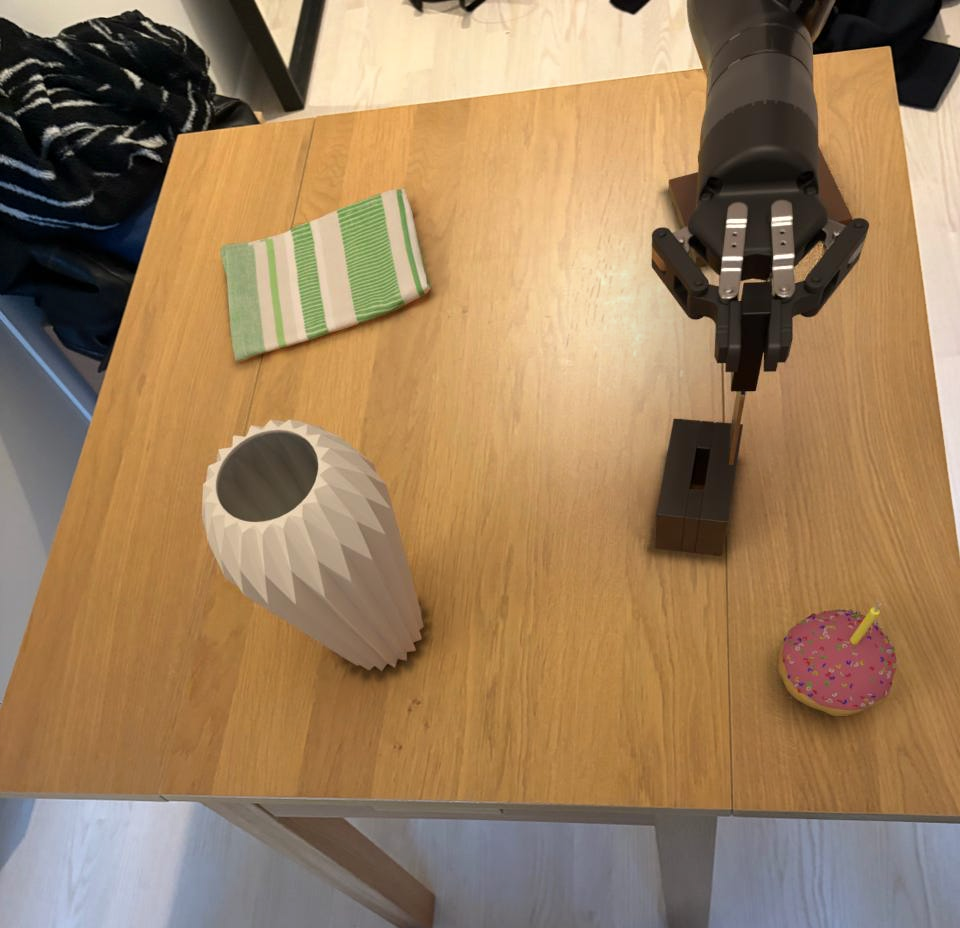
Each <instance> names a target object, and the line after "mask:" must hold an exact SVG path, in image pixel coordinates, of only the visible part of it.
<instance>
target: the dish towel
mask: <svg viewBox="0 0 960 928" xmlns="http://www.w3.org/2000/svg"><path fill="white" fill-rule="evenodd" d="M220 257H221V261H222V265H223V269H224V273H225V277H226V283H227V284H226V285H227V287H226V288H227V300H228V312H229V315H228V317H229V328H230V329H229V332H230V340H231V347H232V353H233V356H234V359H235V361H236V362H241V361H245V360H248V359H251V358H254V357H257V356H259V355H262V354H266V353H269V352H273V351H275V350H279V349H284V348H287V347H290V346H293V345H298V344H301V343H304V342H308V341H311V340H315V339H317V338H320V337H323V336H326V335H328V334H331V333H334V332H339V331H342V330H345V329H348V328H351V327H354V326H356V325H360V324H362V323H366V322H369V321H372V320H374V319H376V318H379V317H382V316H384V315H387V314H390V313H392V312H395V311H397V310H399V309H400V308H403V307H405V306H406V305H408V304H409V303H411V302H414V301H415V300H417V299H419V298H420V299H421V298H422V297H423V296H424V295H426V294H427V293H428V292H429V291H430V290H431V288H432V285H431V283H430V280H429V278H428V277H429V276H428V274H427V270H426V265H425V261H424V257H423V254H422V249H421V245H420V241H419V237H418V232H417V227H416V223H415V219H414V213H413V210H412V206H411V203H410V199H409V197H408V194H407V191H406V189H405V188H399V189H389V190H386V191H383V192H381V193H378V194H376V195H373V196H370V197H367V198H365V199H362V200H359V201H355V202H353V203H352V204H348V205H345V206H342V207H340V208H338V209H336V210H334V211H332V212H330V213H327V214H324V215H323V216H321V217H318V218H316V219H313V220H309V221H307V222H304V223H300V224H297V225H296V226H293V227H292V228H289V229H288V230H287V231H284V232H282V233H280V234H277V235H272V236H268V237H264V238H261V239H260V238H259V239H256V240H251V241H249V242H246V241H245V242H236V243H228V244H225V245H222V246H220Z"/></svg>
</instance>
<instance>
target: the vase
mask: <svg viewBox="0 0 960 928" xmlns="http://www.w3.org/2000/svg"><path fill="white" fill-rule="evenodd" d="M246 433H247V434H246V436H245V435H244V436H242V435H233V436H232V441H231V445H230V446H229V447H223V448H219V449H217V455H216V462H214V463H212V464H210V465H208V466H207V470H206V479H205V482H203V484H202V497H201V498H202V499H201V500H202V502H201V521H202V524H203V527H204V530H205V532H206V538H207V539H206V541H207V543H208V545H209V547H210V550H211V552H212V554H213V555H214V558H215V560H216V562H217V564H218V566H219V568H220V571H221V572H222V574H223V576H224V579H225V580H227V581H229V582H230V583H232V584H233V585H235V586H236V587H238V589H239V590H240V592H241V593H242V595H243V596H245V597H246V598H247V599H250V600H251V601H252V602H254V603H256V604H257V605H259V607H260V606H261V608H263V609H265V610H267V611H268V612H270V613H271V614H273V615H274V616H276V617H278V618H280V619H281V620H282V621H284V622H286V623H288V624H289V625H290V626H292V627H294V628H295V629H297V630H299V631H300V632H302V633H303V634H305V635H306V636H308V637H310V638H312V639H313V640H314V641H316V642H317V643H320V644H321V645H323V646H324V647H326V648H327V649H329V650H331V651H332V652H334V653H336V654H337V655H338V656H340V657H342V658H344V659H345V660H347V661H348V662H350V663H352V664H353V665H355V666H357V667H358V666H361V667H362V668H364V669H366V670H367V671H371V670H372V669H373V668H374V667H375V668H377V669H378V670H379V671H381V672H383V671H384V669H385V668H386V666H387V665H389V666H391V667H393V668H395V669H396V666H397V663H398V660H401V661H404V662H405V661H406V662H407V661H408V653H410V652H416V651H417V648H416V647H415V644H414V643H416V642H418V641H421V640H422V639H423V638H422V633H421V632H420V630H422V629H423V628H424V627H425V626H424V621H423V618H422V615H423V614H422V610H421V606H420V602H419V599H418V595H417V592H416V587H415V583H414V580H413V576H412V572H411V569H410V566H409V562H408V558H407V554H406V550H405V547H404V543H403V540H402V536H401V532H400V529H399V525H398V522H397V518H396V513H395V510H394V507H393V503H392V499H391V496H390V493H389V488H388V485H387V483H386V482H385V481H384V480H383V479H382V478H381V477H380V476H379V475H378V473H377V469H376V467H375V464H374V463H373V462H372V461H370V460H369V459H368V458H367V457H366V456H365V455H364V454H363V453H361V452H360V451H359V450H358V449H357V448H356V447H354V445H352V444H351V443H350V442H349V441H348V440H347V439H345V437H342V436H340V435H337V434H335V433H332V432H329V431H328V430H327V429H326V428H324V427H322V426H318V425H314V424H312V423H306V422H303V421H299V420H296V419H291V418H290V419H288V420H286V421H282V420H277V419H270V420H269V421H268V422H267V423H266V424H265V425H264V426H261V425H254V424H251V425H250V426H249V429H248V432H246Z"/></svg>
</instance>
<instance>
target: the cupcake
mask: <svg viewBox="0 0 960 928" xmlns="http://www.w3.org/2000/svg"><path fill="white" fill-rule="evenodd" d="M882 605H883V603H882V602H878V604H877V605H876V607H874V606H873V607H871V608H870V609H869V610H868V612H867V614H866V615H865V614H864V613H861V611H860V610H855V612H854V610H853V609H849V610H846V609H845V608H844V607H843V608H840V609H833V610H827V611H826V610H822V611H821V612H818V613H811V614H810V615H808V616H807V617H806V618H804V619H803V620H801V621H800V622H797V623H796V624H795V625H794V626H793V627H791V628H790V629H789V630H788V632H787V634H786V635H785V637H784V638H783V641H782V643H781V646H780V651H779V657H778V667H777V668H778V673H779V675H780V677H781V679H782V681H783V684H784V686H785V689H786V690H787V692H788V693H789V694H790V695H791V697H793V698H795V699H796V700H797V701H799V702H801V703H802V704H804V705H806V706H808V707H810V708H812V709H816V710H818V711H821V712H823V713H826V714H828V715H830V716H833V717H847V716H852V715H855V714H858V713H861V712H863V711H865V710H868V709H869V708H871V707H873V706H874V705H876V704H878V703H880V702H881V701H883V700H884V699H885V698H886V697H887V696H888V694H889V693H890V691H891V688H892V684H893V679H894V677H895V673H896V670H897V668H898V666H899V662H898V658H897V655H896V648H895V647H894V645H893V643H892V642H891V640H890V639H889V638H890V637H889V634H887V632H886V630H883V629H882V628H881V627H880V626H879V625H878V622H876V619H877V618H878V616H879V614H880V613H881V611H880V608H881V606H882Z"/></svg>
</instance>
